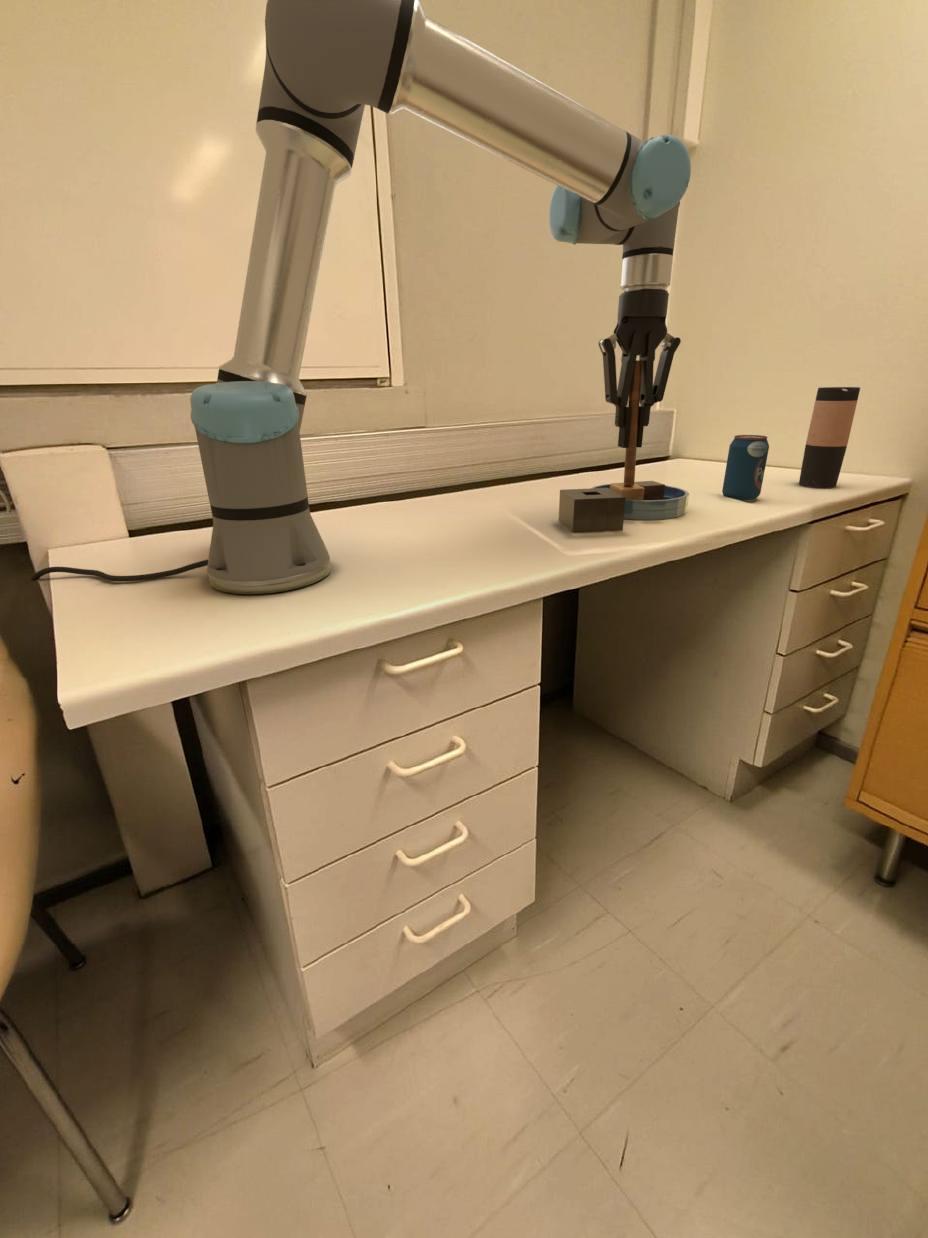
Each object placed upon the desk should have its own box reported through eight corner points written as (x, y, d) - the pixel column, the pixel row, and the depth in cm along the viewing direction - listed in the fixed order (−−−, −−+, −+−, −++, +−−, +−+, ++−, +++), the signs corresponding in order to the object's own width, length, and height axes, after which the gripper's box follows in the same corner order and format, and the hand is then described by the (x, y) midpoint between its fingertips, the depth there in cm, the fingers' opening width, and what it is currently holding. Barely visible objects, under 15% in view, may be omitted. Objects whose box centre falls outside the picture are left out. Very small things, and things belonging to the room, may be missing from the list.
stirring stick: (624, 485, 98) (632, 360, 92) (622, 484, 100) (629, 361, 94) (635, 485, 98) (643, 360, 92) (633, 484, 100) (640, 361, 93)
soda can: (761, 503, 109) (774, 438, 104) (722, 501, 111) (733, 437, 106) (756, 496, 115) (767, 434, 110) (719, 494, 117) (729, 434, 112)
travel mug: (805, 481, 129) (826, 386, 121) (842, 485, 124) (866, 386, 116) (791, 485, 125) (811, 387, 117) (829, 489, 119) (853, 387, 111)
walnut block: (640, 510, 101) (643, 486, 99) (628, 505, 105) (630, 482, 103) (662, 509, 102) (665, 484, 100) (649, 504, 106) (652, 480, 104)
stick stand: (572, 537, 89) (574, 499, 86) (558, 525, 96) (559, 489, 94) (622, 535, 89) (626, 497, 87) (604, 522, 97) (607, 487, 94)
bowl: (606, 526, 94) (608, 502, 93) (575, 505, 110) (577, 484, 108) (703, 522, 96) (707, 498, 94) (660, 501, 112) (662, 481, 110)
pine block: (618, 514, 99) (621, 489, 97) (607, 507, 103) (610, 483, 101) (641, 512, 100) (645, 488, 98) (629, 505, 104) (632, 481, 102)
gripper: (678, 293, 92) (660, 442, 102) (590, 294, 91) (581, 445, 100) (701, 286, 86) (680, 447, 95) (607, 287, 84) (595, 450, 93)
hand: (629, 446), depth 98 cm, fingers closed on stirring stick, 2 cm apart
